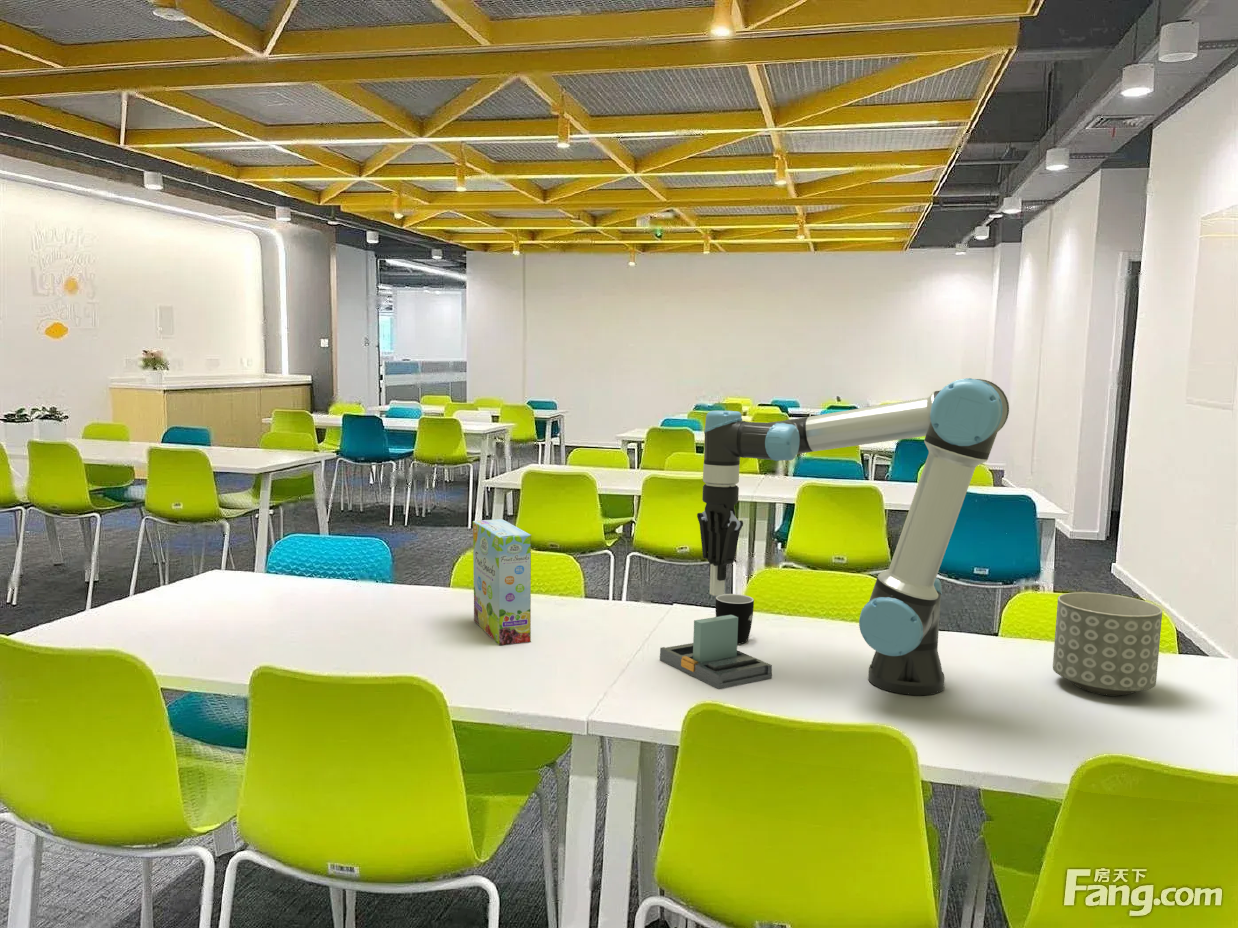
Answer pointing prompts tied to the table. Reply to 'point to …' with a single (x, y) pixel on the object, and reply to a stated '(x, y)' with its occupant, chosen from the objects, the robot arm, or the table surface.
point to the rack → (717, 667)
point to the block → (715, 638)
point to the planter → (1107, 642)
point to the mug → (737, 612)
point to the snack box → (502, 581)
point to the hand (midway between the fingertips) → (716, 594)
